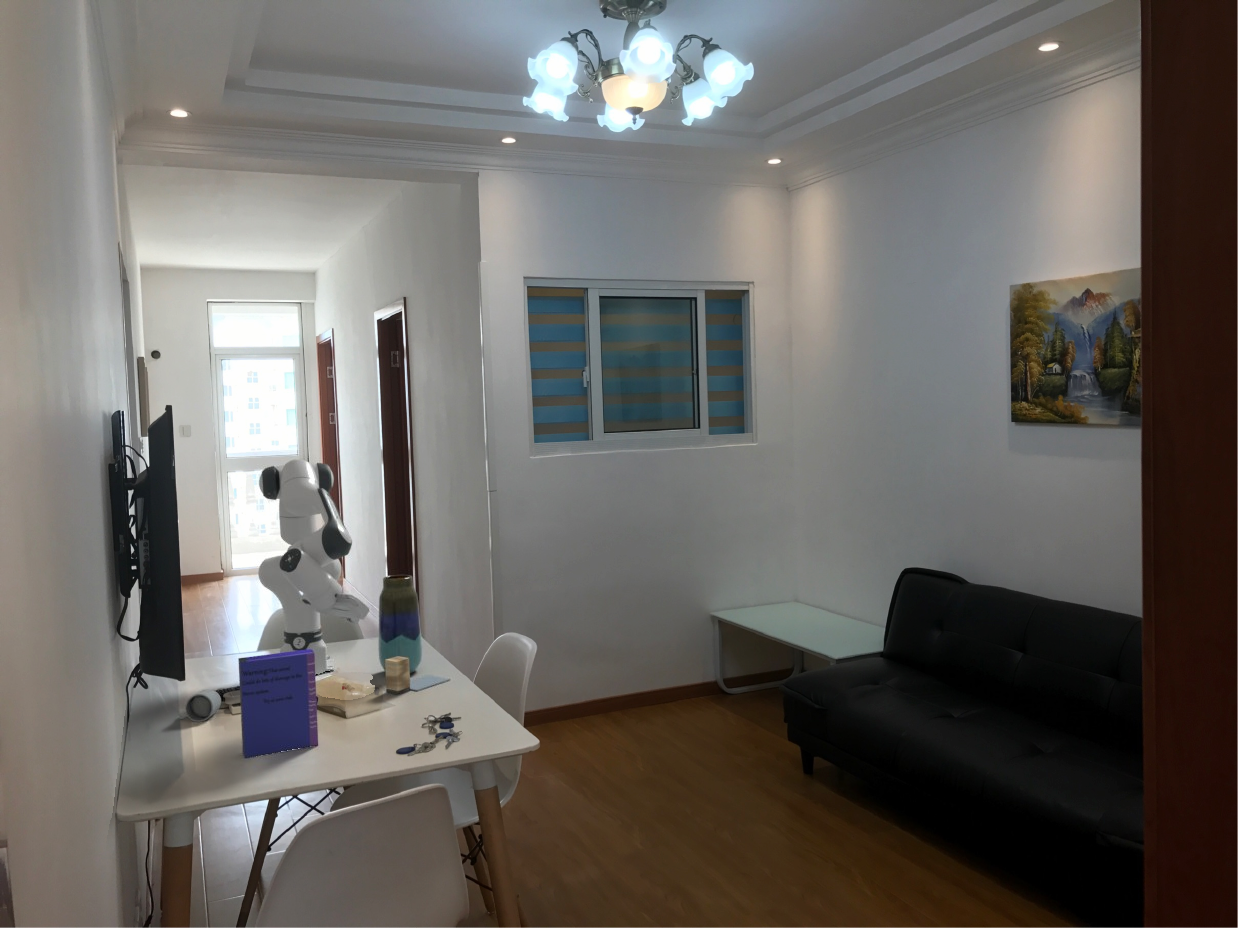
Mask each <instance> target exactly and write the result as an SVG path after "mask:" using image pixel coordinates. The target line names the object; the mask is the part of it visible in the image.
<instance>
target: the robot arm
mask: <svg viewBox="0 0 1238 928" xmlns="http://www.w3.org/2000/svg"><path fill="white" fill-rule="evenodd" d="M334 478H335V477H334V473H333V471H332V469H331V467H330V466H329V465H328V464H327V463H323V462H317V463H313V462H312V463H311V462H309V461H308V460H305V459H301V458H296V459H295V458H294V459H291V460H289V461H288V462H286V463H285V464H283V465H278V466H274V465H271V466H268V467H265V468H263V470H262V471H261V474H260V476H259V479H258V487H259V489H260V492H261V493H262V496H263V497H264V498H265V499H267V500H271V501H273V500H275V501H277V500H279V501H278V502H279V503H278V513H279V514H278V515H279V516H278V517H279V530H280V531H279V534H280V537H281V539H282V541H283V542H285V543H286V544H288V545H290V546H289V547H287V550H286V552H285V553H284V554H282V555H276V556H271V557H268V558H265V559H263V561H262V562H261V563H260V565H259V568H258V575H257V576H258V579H259V581H260V584H261V585H262V586H263V587H264V588H266V589H267V590H269V591H270V592H271V593H273V594H274V595H275V596H276V598H277V599H278V601H279V602H280V604H281V608H282V611H283V619H284V631H283V642H284V644H283V645H282V646H281V647H280V649H279V653H284V652H292V651H299V650H307V649H312V650H313V651H314V655H315V676H317V675H316V674H318V675H321V674H320V673H322V674H324V673H323V672H325V671H329V670H333V669H334V670H335V659H334V657H330V656H329V655H328V647H327V644H326V642H325V641H324V640H323V638H324V637H323V628H322V625H321V615H329V616H335V617H339V618H341V619H342V620H345V621H346V622H347V623H350V624H354V625H355V624H359V622H360V620H363V621H364V620H365V619H366V617H367V616H368V615H369V612H370V608H369V606H368V605H366V604H365V603H364V601H362V600H361V599H360V598H358V597H357V596H355V595H353V594H350V593H342V591H343V587H342V585H341V584H340V583H339V582H338V580H339V579H340V577H341V575H342V571H343V570H342V564H341V561H340V559H342V558H343V557H347V556H348V555H349V553H350V551H351V549H352V546H353V539H352V536H351V535H350V533H349V531H348V529H347V528H346V526H345V523H344V522H343V519H342V517H341V514H340V512H339V509H338V507H337V505H336V503H335V500H334V499H333V497H332V496H331V495H330V492H331V491H332V488H333V486H334ZM320 514H321V517H322V519H323V522H324V524H323V525H322V526H321V527H320V528H319V529H318V528H317V521H316V515H320ZM325 673H326V672H325Z"/></svg>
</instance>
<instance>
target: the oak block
mask: <svg viewBox="0 0 1238 928" xmlns="http://www.w3.org/2000/svg"><path fill="white" fill-rule="evenodd" d="M384 672H385V689H386V690H385V691H386V694H391V695H397V696H399V695H402V694H405V693H409V692H410V691H411V690H410V680H411V675H410V674H411V673H410V669H409V658H405V657H400V656H397V657H393V658H390V659H386V660H385V670H384Z"/></svg>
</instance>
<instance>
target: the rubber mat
mask: <svg viewBox="0 0 1238 928" xmlns="http://www.w3.org/2000/svg"><path fill="white" fill-rule="evenodd" d="M448 680H450V681H451V678H448V677H447V678H446V677H443V676H442V677H441V676H437V675H436V676H435V675H430V674H427V675H424V676H421V677H418V678H413V679H410V691H414V692H419V691H422V690H426V689H428V688H432V687H434V686H433V685H435V686H437V684H438V685H441V684H443V683H442V682H444V683H446V682H445V681H447V682H449V681H448ZM440 683H441V684H440Z"/></svg>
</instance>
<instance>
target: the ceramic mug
mask: <svg viewBox="0 0 1238 928" xmlns="http://www.w3.org/2000/svg"><path fill="white" fill-rule="evenodd" d="M221 704H222V698H221V696H220V694H219V693H218V692H217V691H216V690H213V689H204V690H203V689H202V690H201V691H199V692H197V693H196V694H193V695H192V696H190V697H189V698H188V699H187V700H186V702H185V705H184V711H181V712H180V713H179V714H178V718H179V719H180V720H183V719H185V718H189V719H190V720H191V721H193V722H197V723H198V722H199V723H200V722H204V721H206V720H208V719H209V718H210V717H212V716H213V715H214V714H215V713H217V712H218V711H219V709H220V707H221Z"/></svg>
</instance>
